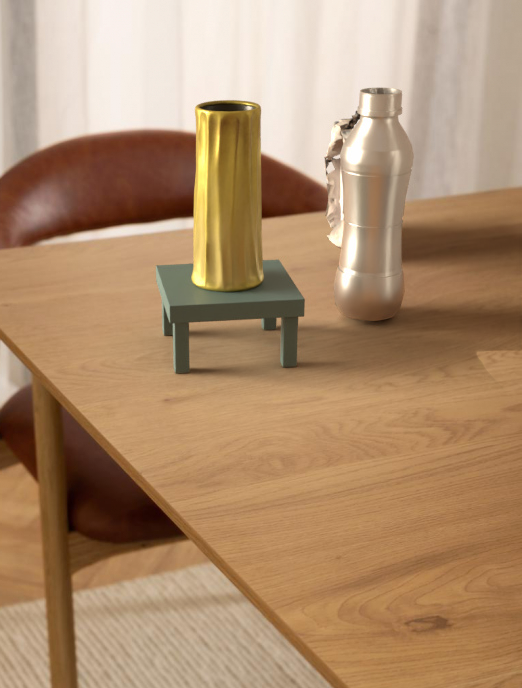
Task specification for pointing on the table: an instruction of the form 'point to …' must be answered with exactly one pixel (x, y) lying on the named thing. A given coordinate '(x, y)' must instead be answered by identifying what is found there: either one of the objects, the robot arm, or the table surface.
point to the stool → (229, 307)
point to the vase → (228, 197)
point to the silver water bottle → (373, 209)
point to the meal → (337, 177)
